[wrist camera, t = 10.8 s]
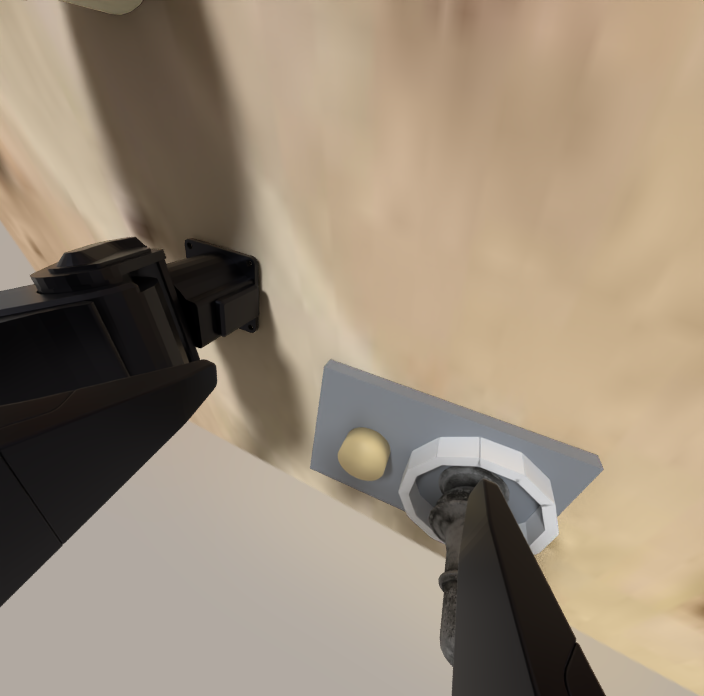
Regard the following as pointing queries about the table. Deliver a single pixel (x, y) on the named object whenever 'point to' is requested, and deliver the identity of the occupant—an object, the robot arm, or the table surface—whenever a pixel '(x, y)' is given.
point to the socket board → (421, 427)
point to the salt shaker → (455, 536)
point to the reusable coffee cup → (108, 5)
